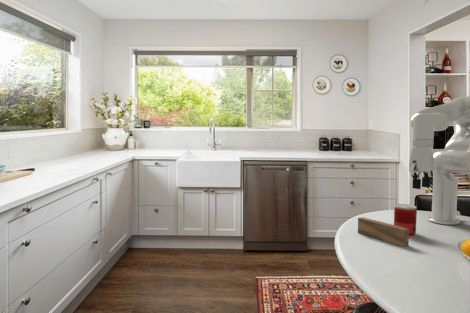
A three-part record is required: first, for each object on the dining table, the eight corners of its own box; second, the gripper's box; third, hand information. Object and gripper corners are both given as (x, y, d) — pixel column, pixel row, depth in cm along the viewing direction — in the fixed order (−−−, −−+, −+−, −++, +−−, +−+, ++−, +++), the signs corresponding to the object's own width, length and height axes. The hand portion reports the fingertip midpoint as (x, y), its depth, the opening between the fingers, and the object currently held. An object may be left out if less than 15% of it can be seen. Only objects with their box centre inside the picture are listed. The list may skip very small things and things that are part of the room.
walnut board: (362, 231, 146) (363, 217, 146) (408, 245, 129) (409, 228, 129) (357, 232, 145) (358, 218, 144) (403, 246, 128) (403, 230, 127)
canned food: (418, 236, 140) (419, 208, 139) (396, 235, 141) (397, 207, 140) (412, 231, 147) (413, 204, 146) (391, 230, 149) (392, 203, 148)
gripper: (426, 142, 154) (424, 184, 155) (401, 143, 145) (399, 188, 147) (444, 143, 148) (442, 187, 149) (418, 144, 139) (417, 191, 140)
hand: (421, 187), depth 148 cm, fingers open, 5 cm apart
